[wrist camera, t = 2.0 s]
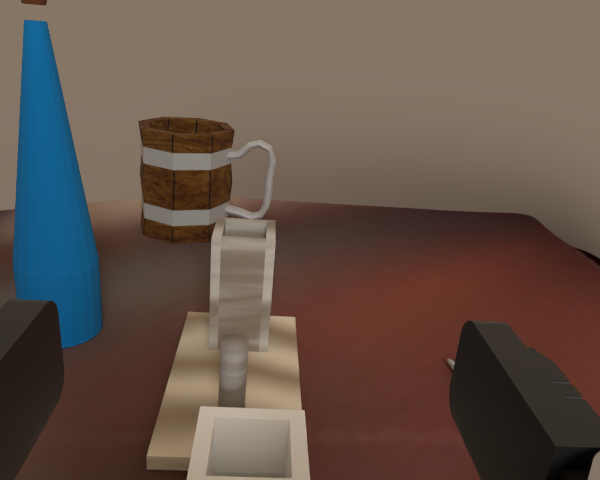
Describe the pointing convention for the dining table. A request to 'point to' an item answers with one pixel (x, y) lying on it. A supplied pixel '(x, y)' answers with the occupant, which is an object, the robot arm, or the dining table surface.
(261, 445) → the sleeve
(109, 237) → the dining table surface
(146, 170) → the mug
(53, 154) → the bottle
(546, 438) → the robot arm
